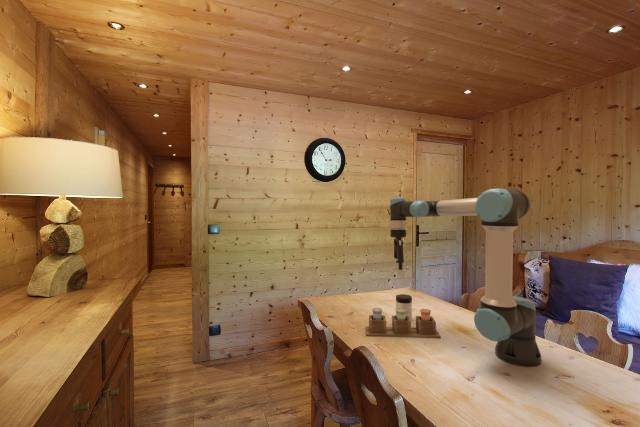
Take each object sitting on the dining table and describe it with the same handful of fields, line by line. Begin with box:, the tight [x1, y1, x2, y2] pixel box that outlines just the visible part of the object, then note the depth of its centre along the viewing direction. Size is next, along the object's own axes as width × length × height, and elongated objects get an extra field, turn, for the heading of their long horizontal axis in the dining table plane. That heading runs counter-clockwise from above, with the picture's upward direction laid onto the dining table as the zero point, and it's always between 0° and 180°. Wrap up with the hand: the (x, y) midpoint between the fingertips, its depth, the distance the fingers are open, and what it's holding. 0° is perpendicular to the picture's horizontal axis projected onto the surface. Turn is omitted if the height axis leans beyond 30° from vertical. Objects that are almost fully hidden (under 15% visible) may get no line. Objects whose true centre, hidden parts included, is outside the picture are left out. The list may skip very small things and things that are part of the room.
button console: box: [365, 314, 442, 339], centre depth 148 cm, size 10×33×7 cm, turn 84°
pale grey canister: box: [371, 307, 383, 320], centre depth 150 cm, size 5×5×7 cm
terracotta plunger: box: [419, 308, 432, 321], centre depth 147 cm, size 5×5×7 cm
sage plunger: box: [395, 308, 406, 320], centre depth 148 cm, size 5×5×7 cm
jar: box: [395, 294, 413, 322], centre depth 167 cm, size 9×8×12 cm
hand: (398, 273), depth 156 cm, fingers open, 11 cm apart
